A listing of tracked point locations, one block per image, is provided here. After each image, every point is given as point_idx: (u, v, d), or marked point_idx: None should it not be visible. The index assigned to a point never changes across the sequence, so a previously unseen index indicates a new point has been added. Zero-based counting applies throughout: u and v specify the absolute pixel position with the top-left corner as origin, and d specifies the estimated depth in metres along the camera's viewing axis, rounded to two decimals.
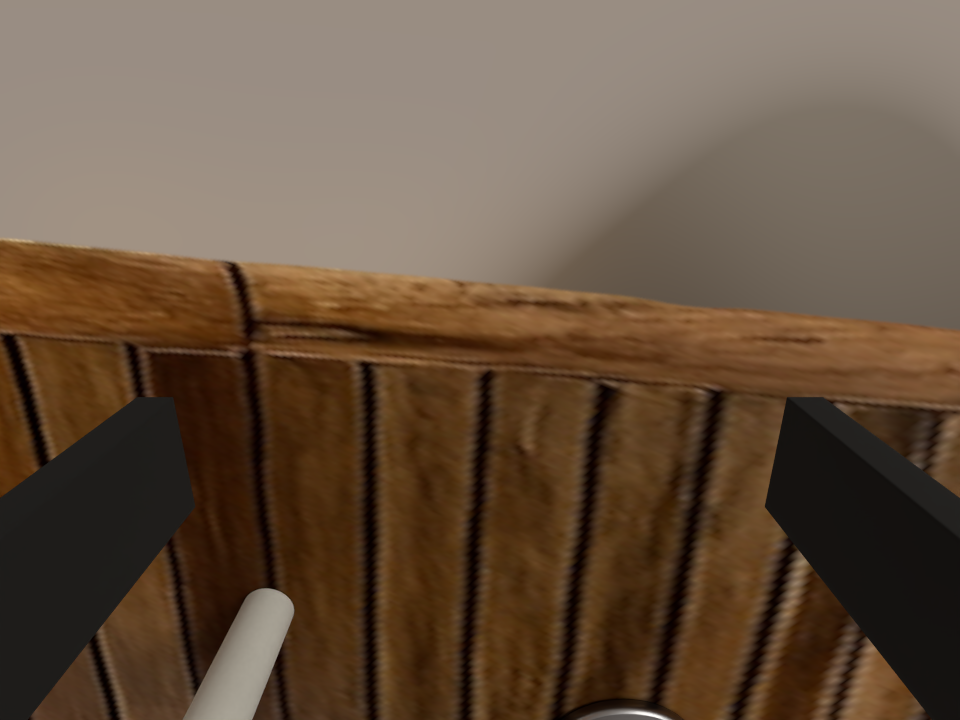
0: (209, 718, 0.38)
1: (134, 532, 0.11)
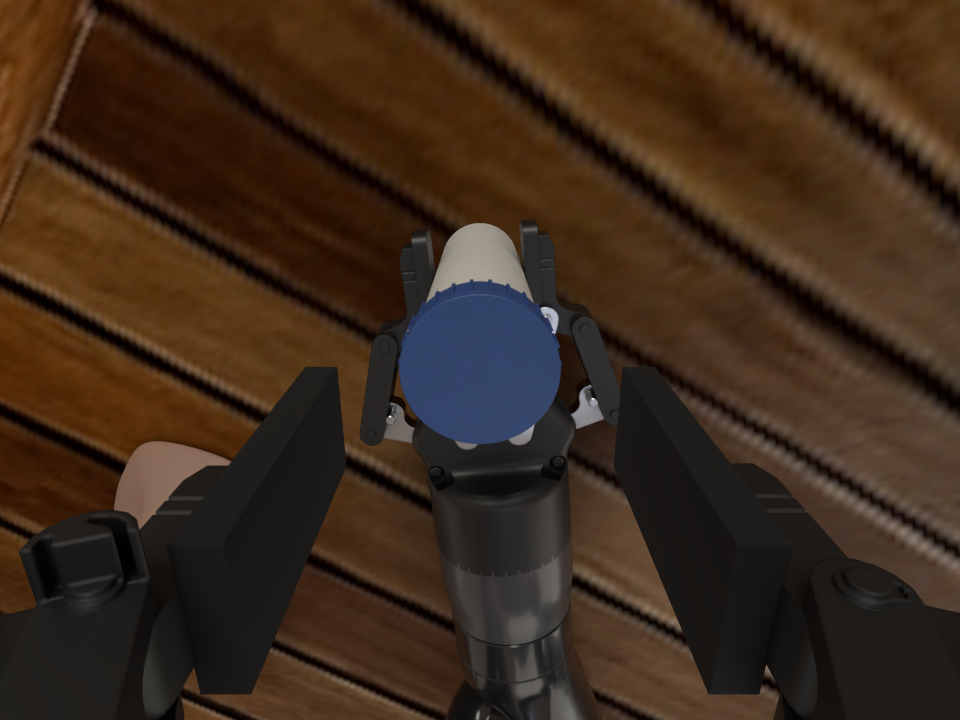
0: (437, 282, 0.22)
1: (321, 480, 0.12)
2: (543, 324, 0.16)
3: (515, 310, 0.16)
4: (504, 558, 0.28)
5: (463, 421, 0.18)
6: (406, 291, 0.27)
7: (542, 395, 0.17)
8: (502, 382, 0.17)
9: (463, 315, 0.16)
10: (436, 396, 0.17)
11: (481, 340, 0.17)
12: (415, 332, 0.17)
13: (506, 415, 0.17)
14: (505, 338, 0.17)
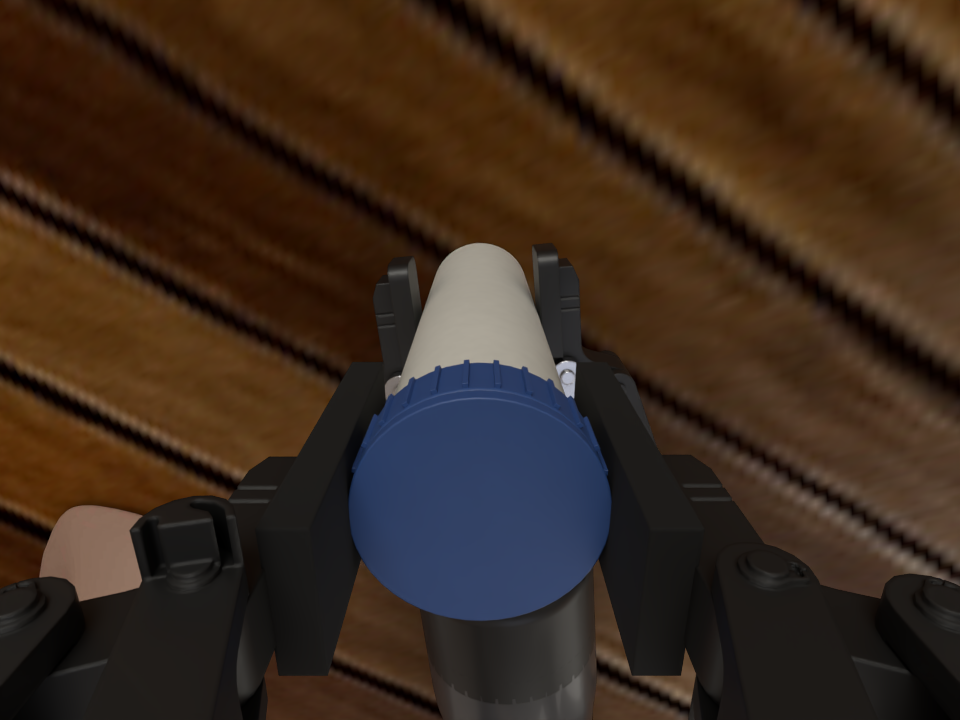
0: (419, 342, 0.15)
1: None
2: (585, 445, 0.10)
3: (539, 423, 0.10)
4: (512, 683, 0.22)
5: (453, 588, 0.11)
6: (382, 339, 0.20)
7: (581, 551, 0.11)
8: (516, 532, 0.10)
9: (452, 431, 0.10)
10: (409, 552, 0.11)
11: (482, 469, 0.10)
12: (372, 457, 0.10)
13: (522, 580, 0.11)
14: (522, 466, 0.10)
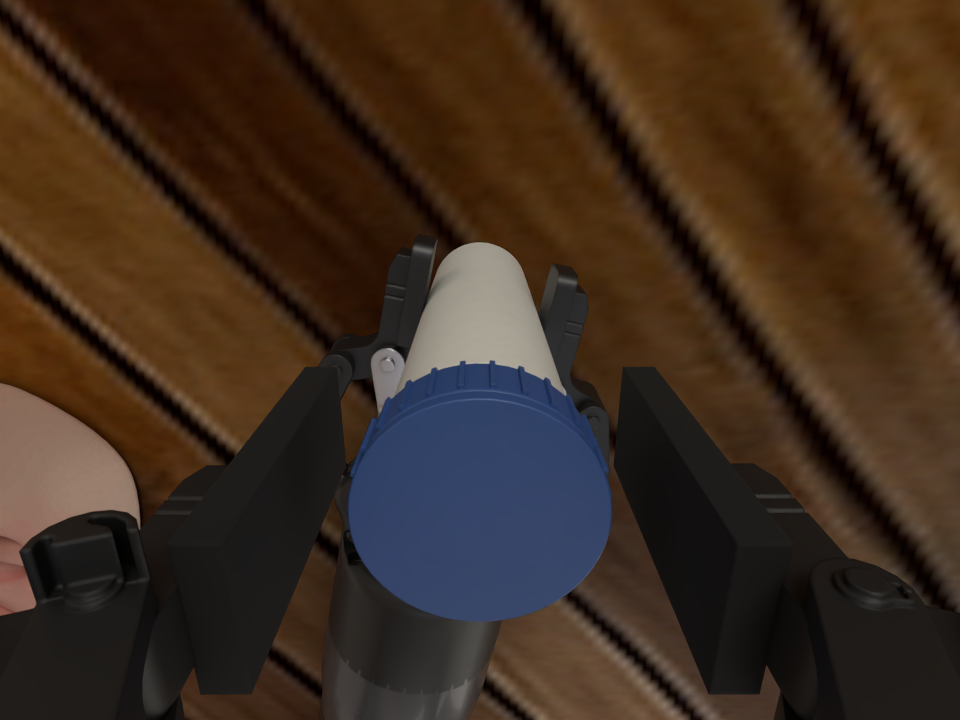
0: (438, 324, 0.15)
1: (321, 480, 0.12)
2: (436, 406, 0.10)
3: (397, 438, 0.10)
4: (408, 672, 0.22)
5: (548, 566, 0.11)
6: (385, 308, 0.20)
7: (559, 447, 0.10)
8: (509, 495, 0.10)
9: (378, 509, 0.10)
10: (491, 585, 0.11)
11: (427, 500, 0.10)
12: (380, 576, 0.11)
13: (568, 508, 0.10)
14: (438, 467, 0.10)
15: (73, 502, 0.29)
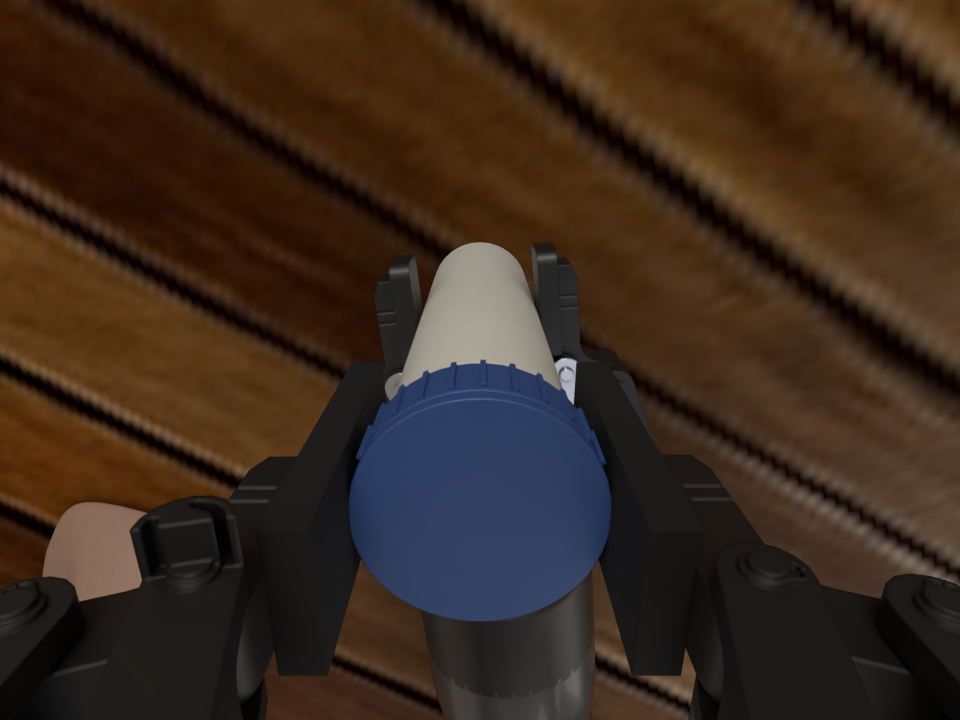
0: (420, 338, 0.15)
1: None
2: (399, 423, 0.10)
3: (374, 463, 0.10)
4: (511, 677, 0.22)
5: (564, 547, 0.11)
6: (383, 337, 0.21)
7: (530, 429, 0.10)
8: (499, 488, 0.10)
9: (381, 534, 0.10)
10: (515, 579, 0.11)
11: (423, 514, 0.10)
12: (406, 597, 0.11)
13: (561, 485, 0.10)
14: (422, 480, 0.10)
15: None
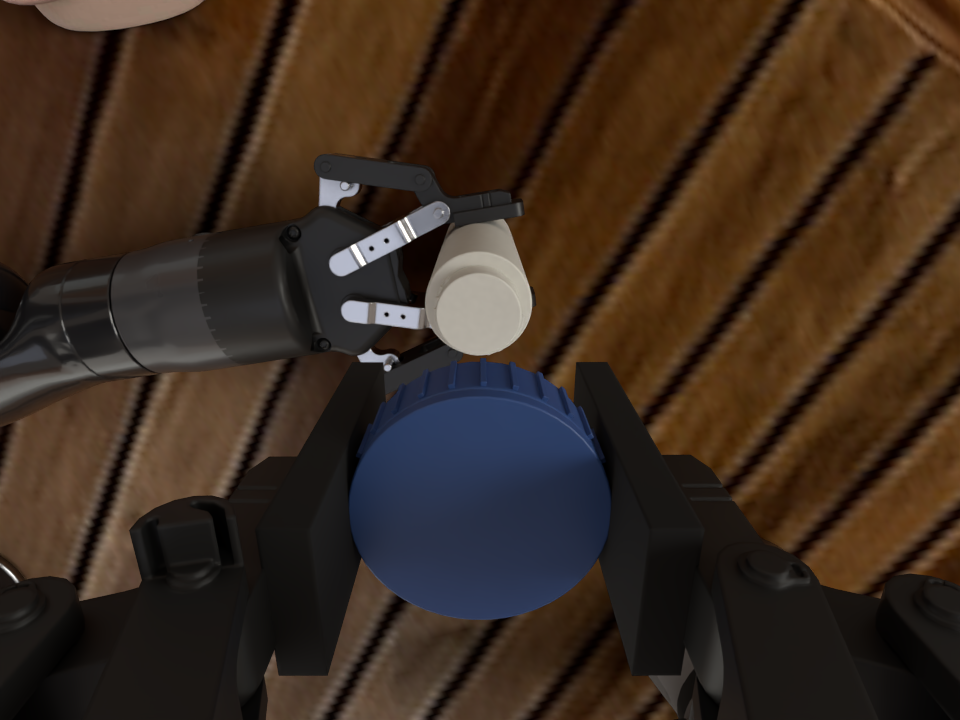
0: (508, 247, 0.26)
1: None
2: (399, 421, 0.10)
3: (374, 462, 0.10)
4: (226, 315, 0.29)
5: (564, 545, 0.11)
6: (472, 197, 0.30)
7: (530, 428, 0.10)
8: (499, 487, 0.10)
9: (381, 533, 0.10)
10: (515, 577, 0.11)
11: (423, 512, 0.10)
12: (406, 596, 0.11)
13: (561, 484, 0.10)
14: (422, 478, 0.10)
15: None
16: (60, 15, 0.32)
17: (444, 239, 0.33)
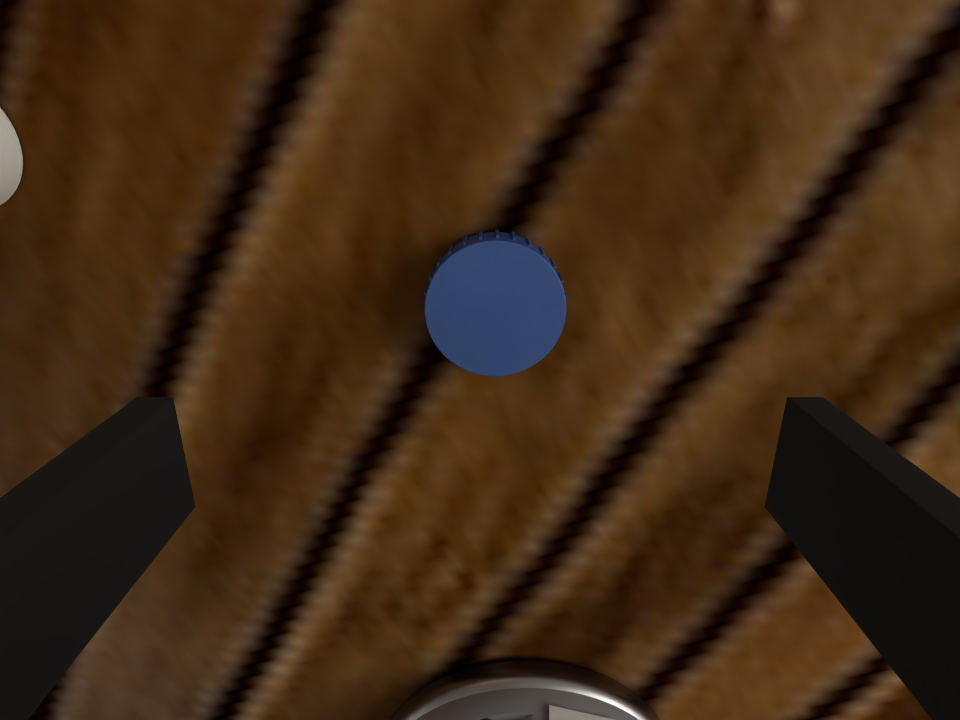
0: None
1: (134, 532, 0.11)
2: (453, 254, 0.19)
3: (440, 278, 0.19)
4: None
5: (540, 328, 0.20)
6: None
7: (521, 258, 0.19)
8: (505, 293, 0.19)
9: (442, 321, 0.20)
10: (514, 349, 0.20)
11: (465, 308, 0.19)
12: (455, 360, 0.20)
13: (538, 291, 0.19)
14: (464, 288, 0.19)
15: None
16: None
17: None
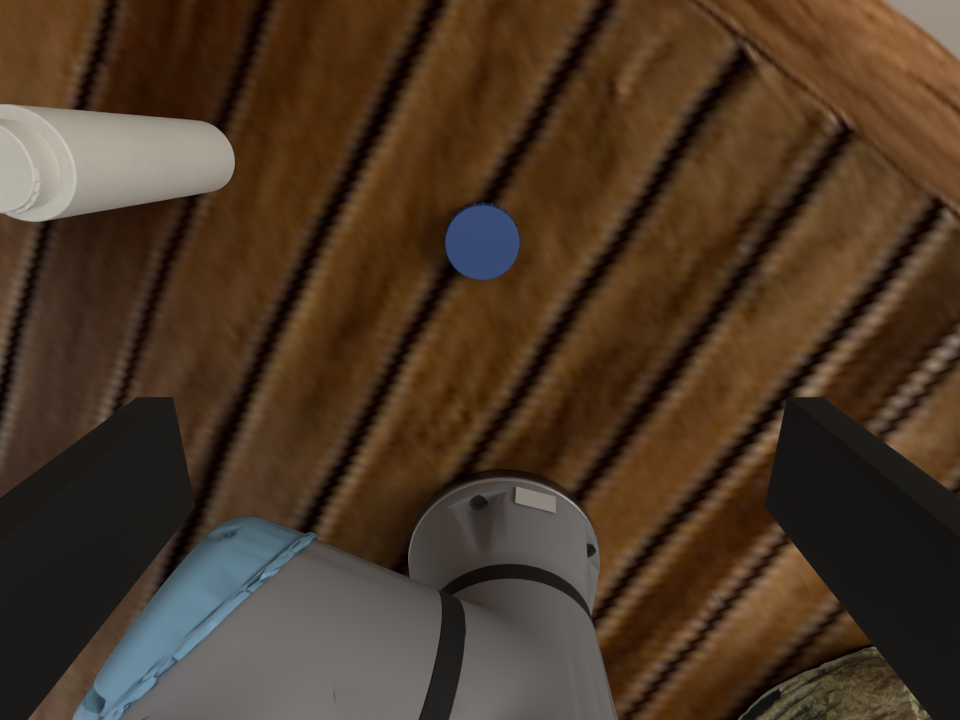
0: (102, 121, 0.25)
1: (134, 532, 0.11)
2: (460, 213, 0.36)
3: (453, 225, 0.37)
4: None
5: (506, 253, 0.37)
6: None
7: (495, 214, 0.36)
8: (487, 233, 0.37)
9: (454, 249, 0.37)
10: (492, 264, 0.38)
11: (466, 241, 0.37)
12: (461, 270, 0.38)
13: (504, 232, 0.37)
14: (466, 230, 0.37)
15: None
16: None
17: None
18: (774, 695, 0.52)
